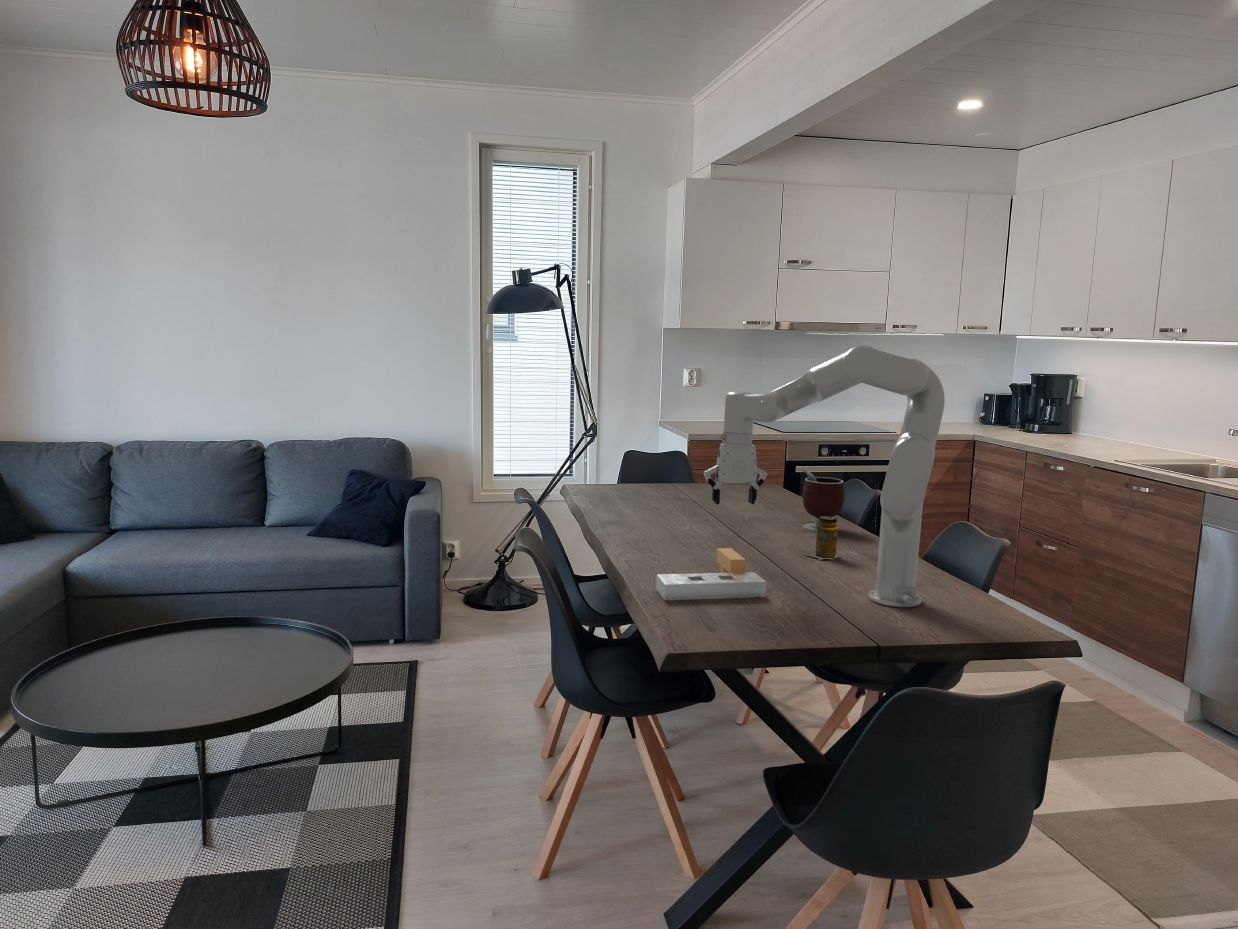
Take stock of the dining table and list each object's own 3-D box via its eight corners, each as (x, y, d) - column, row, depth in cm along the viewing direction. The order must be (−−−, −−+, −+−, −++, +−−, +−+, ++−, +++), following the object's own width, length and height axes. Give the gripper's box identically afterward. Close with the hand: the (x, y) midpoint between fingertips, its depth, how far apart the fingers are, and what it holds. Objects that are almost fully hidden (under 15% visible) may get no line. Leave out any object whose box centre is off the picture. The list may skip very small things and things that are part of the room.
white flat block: (765, 597, 213) (766, 581, 212) (664, 600, 208) (665, 584, 207) (753, 586, 221) (754, 572, 221) (656, 589, 217) (656, 574, 216)
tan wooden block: (729, 572, 234) (731, 548, 233) (744, 585, 223) (745, 559, 222) (716, 573, 233) (717, 548, 232) (729, 585, 222) (730, 559, 221)
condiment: (842, 558, 254) (844, 518, 253) (822, 561, 250) (824, 521, 248) (823, 552, 260) (826, 514, 259) (804, 555, 256) (806, 516, 254)
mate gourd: (849, 529, 294) (853, 472, 291) (829, 535, 284) (833, 476, 281) (809, 522, 304) (812, 466, 301) (788, 527, 294) (792, 470, 291)
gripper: (709, 440, 217) (706, 506, 220) (774, 441, 220) (770, 506, 223) (701, 437, 225) (698, 500, 227) (764, 437, 228) (760, 500, 230)
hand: (733, 503), depth 225 cm, fingers open, 9 cm apart
